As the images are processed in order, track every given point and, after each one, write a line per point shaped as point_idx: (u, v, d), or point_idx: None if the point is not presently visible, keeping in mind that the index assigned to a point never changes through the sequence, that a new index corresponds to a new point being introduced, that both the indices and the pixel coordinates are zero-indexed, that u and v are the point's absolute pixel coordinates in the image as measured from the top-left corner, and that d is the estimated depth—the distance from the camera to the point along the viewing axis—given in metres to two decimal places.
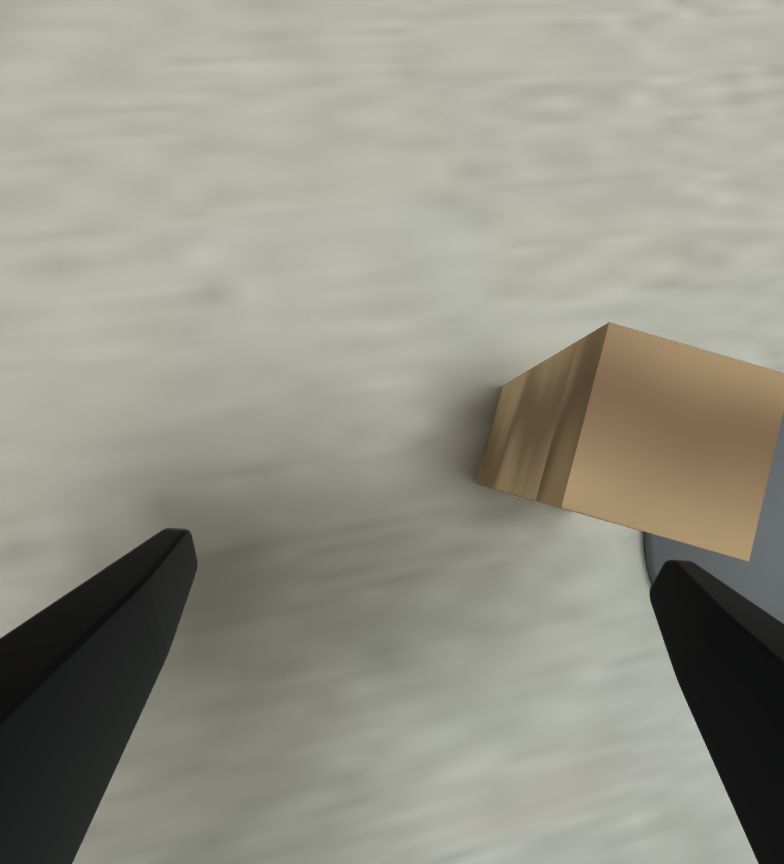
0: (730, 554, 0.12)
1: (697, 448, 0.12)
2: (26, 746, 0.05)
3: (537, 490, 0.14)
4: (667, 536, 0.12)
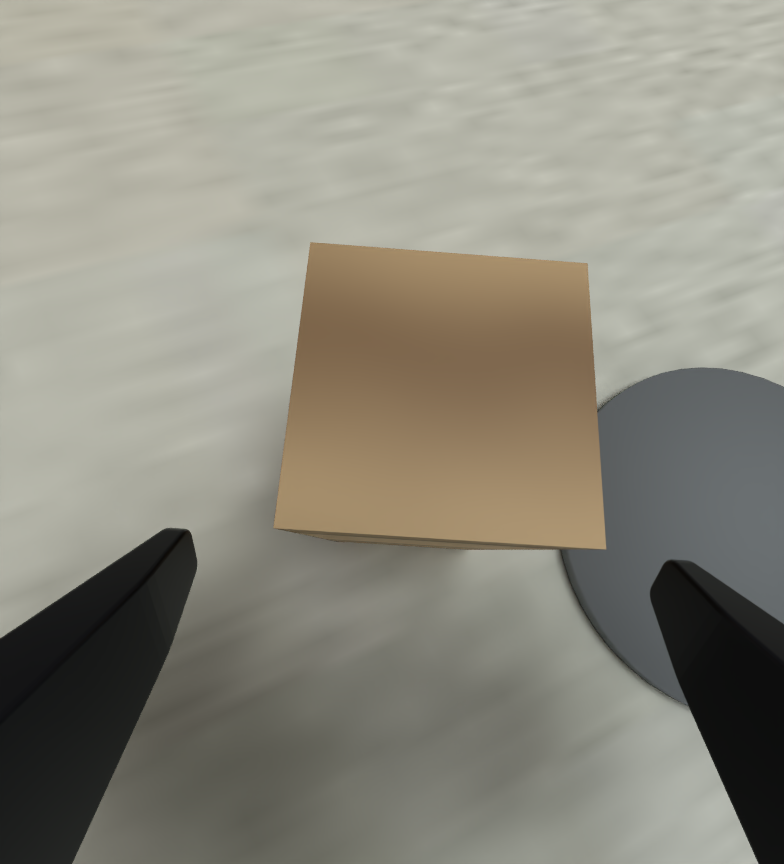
0: (572, 544, 0.07)
1: (478, 388, 0.08)
2: (26, 746, 0.05)
3: None
4: (461, 537, 0.07)
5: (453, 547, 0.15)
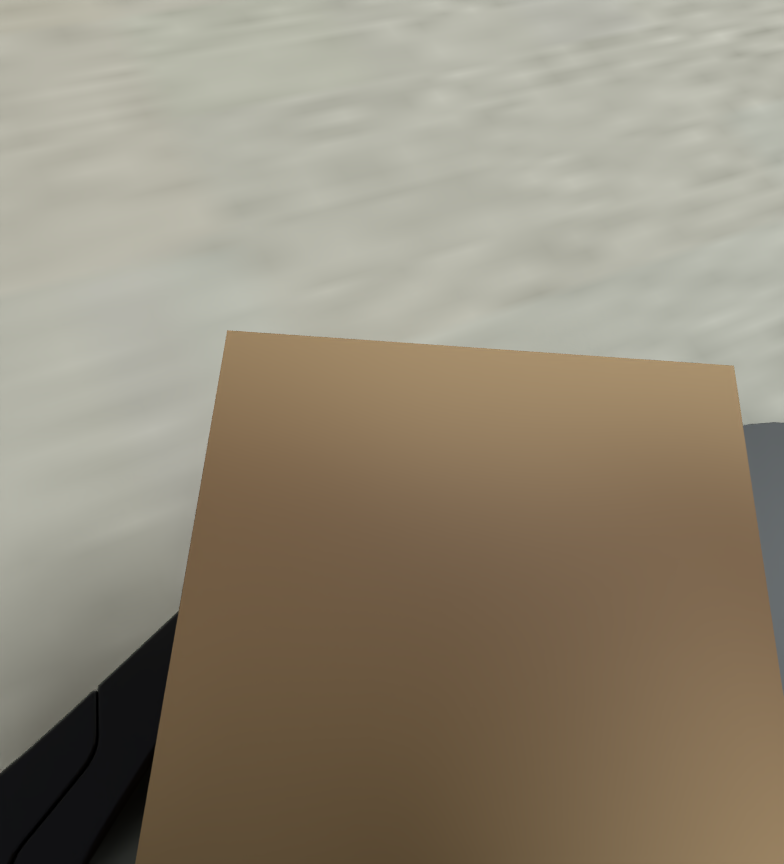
0: None
1: (544, 633, 0.04)
2: None
3: None
4: None
5: None
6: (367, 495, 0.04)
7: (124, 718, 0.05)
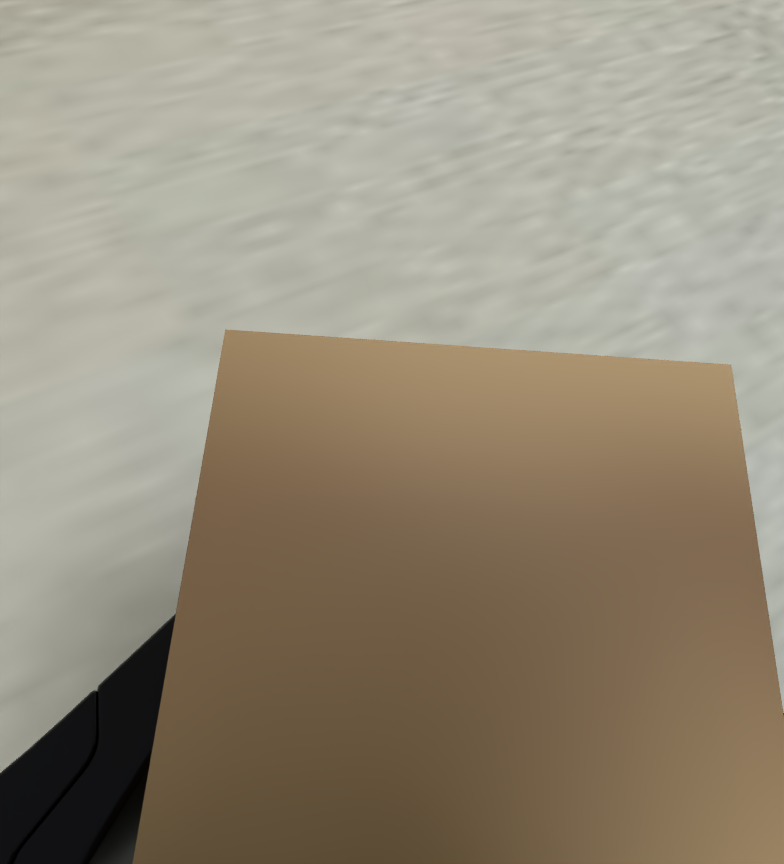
0: None
1: (542, 632, 0.04)
2: None
3: None
4: None
5: None
6: (365, 494, 0.04)
7: (124, 718, 0.05)
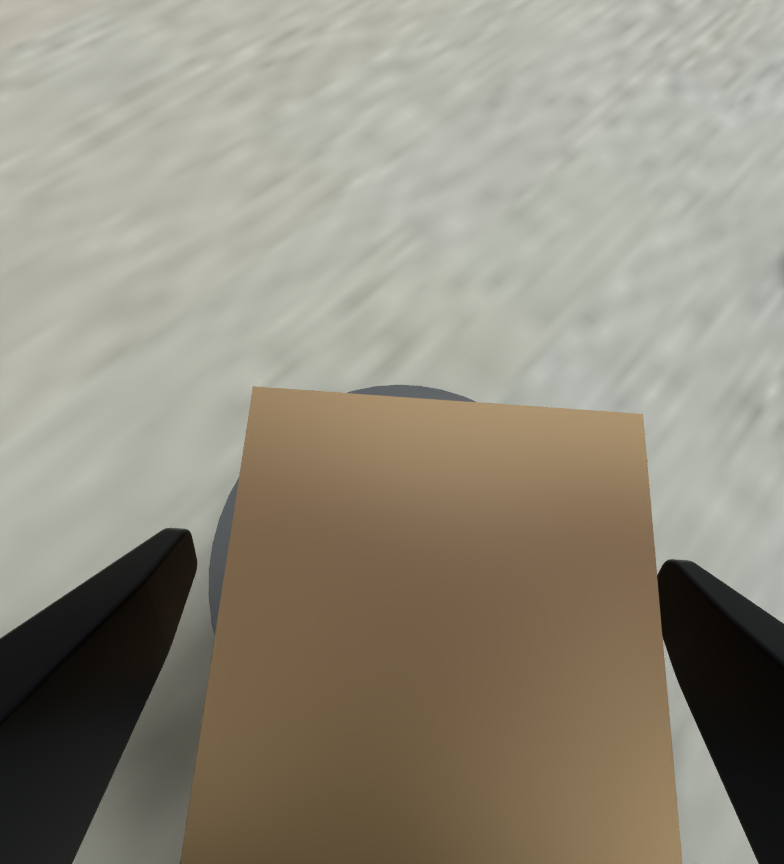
0: None
1: (490, 618, 0.05)
2: (26, 746, 0.05)
3: None
4: None
5: None
6: (360, 515, 0.06)
7: None
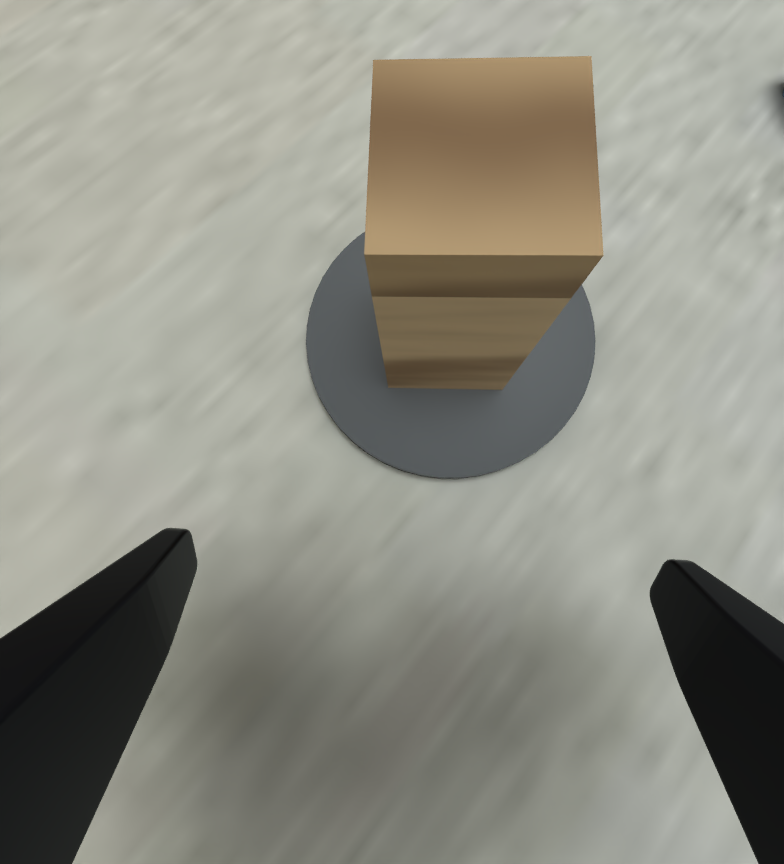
0: (578, 253, 0.10)
1: (506, 154, 0.10)
2: (26, 746, 0.05)
3: None
4: (497, 253, 0.10)
5: (489, 369, 0.18)
6: (435, 114, 0.11)
7: None
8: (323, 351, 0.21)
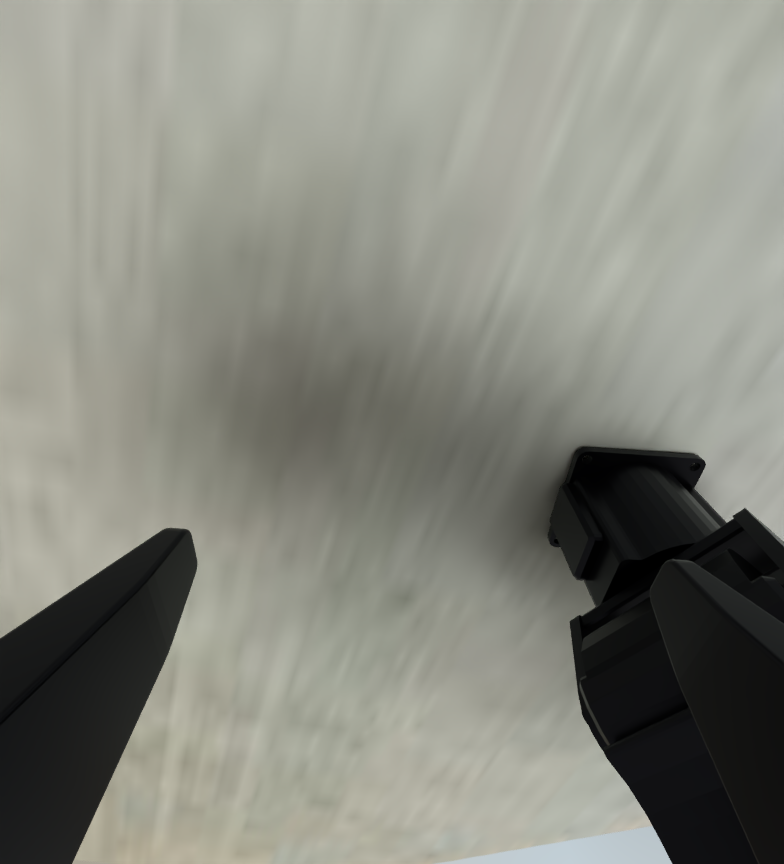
0: None
1: None
2: (26, 746, 0.05)
3: None
4: None
5: None
6: None
7: None
8: None
